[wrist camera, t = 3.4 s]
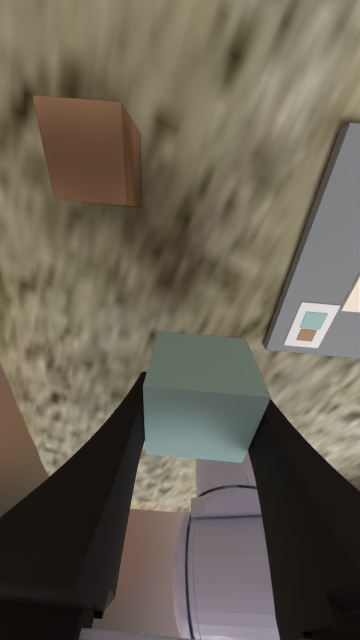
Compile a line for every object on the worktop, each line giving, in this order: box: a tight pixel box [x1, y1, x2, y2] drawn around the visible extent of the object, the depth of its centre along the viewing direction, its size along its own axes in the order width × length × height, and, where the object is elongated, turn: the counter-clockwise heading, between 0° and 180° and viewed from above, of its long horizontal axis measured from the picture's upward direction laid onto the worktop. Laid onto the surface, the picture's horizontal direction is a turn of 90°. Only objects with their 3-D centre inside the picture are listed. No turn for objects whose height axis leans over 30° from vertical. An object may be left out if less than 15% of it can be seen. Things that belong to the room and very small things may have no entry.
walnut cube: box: [32, 95, 142, 207], centre depth 11 cm, size 4×4×4 cm
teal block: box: [143, 331, 271, 463], centre depth 10 cm, size 5×5×4 cm
